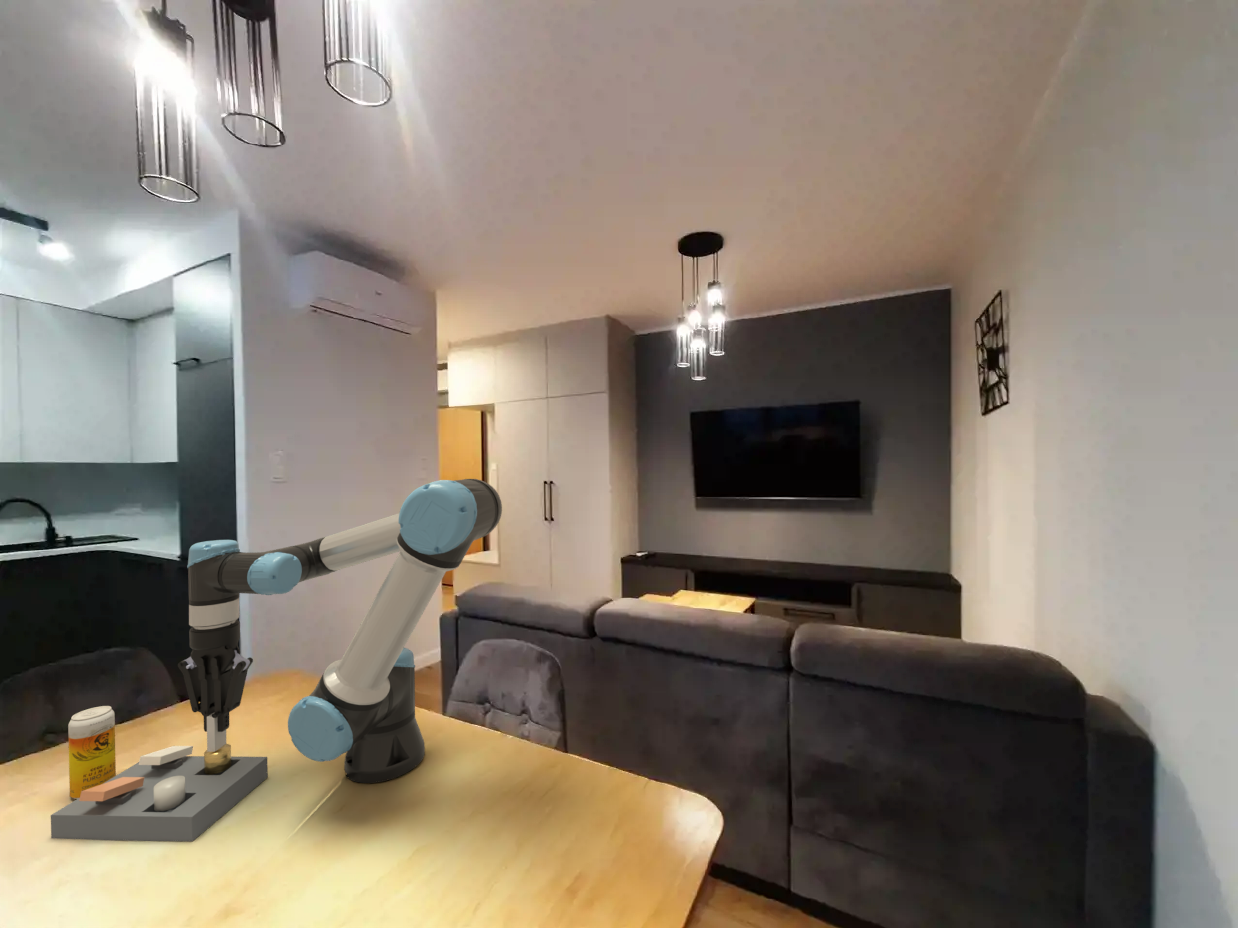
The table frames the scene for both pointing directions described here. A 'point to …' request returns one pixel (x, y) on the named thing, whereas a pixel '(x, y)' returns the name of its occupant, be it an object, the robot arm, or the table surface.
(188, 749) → the white rocker
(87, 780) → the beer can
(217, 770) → the gold rounded piece
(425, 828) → the table surface
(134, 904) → the table surface
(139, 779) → the terracotta rocker
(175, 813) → the grey slotted tray
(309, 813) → the table surface
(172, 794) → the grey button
